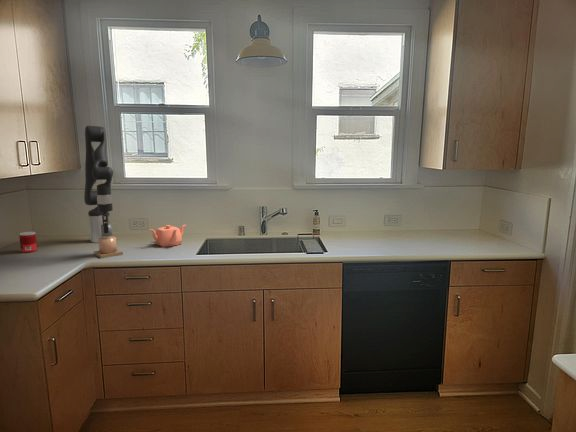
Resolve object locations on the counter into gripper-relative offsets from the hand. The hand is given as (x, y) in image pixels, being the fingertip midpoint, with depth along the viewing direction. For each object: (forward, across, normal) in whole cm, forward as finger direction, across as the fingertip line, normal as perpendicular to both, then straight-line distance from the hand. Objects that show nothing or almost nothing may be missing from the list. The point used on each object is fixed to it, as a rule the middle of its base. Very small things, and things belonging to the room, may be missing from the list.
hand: (106, 231), depth 215 cm
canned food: (+14, -21, -44) cm, 50 cm away
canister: (+13, 0, 0) cm, 13 cm away
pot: (+14, -12, +35) cm, 39 cm away
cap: (+2, 0, 0) cm, 2 cm away
